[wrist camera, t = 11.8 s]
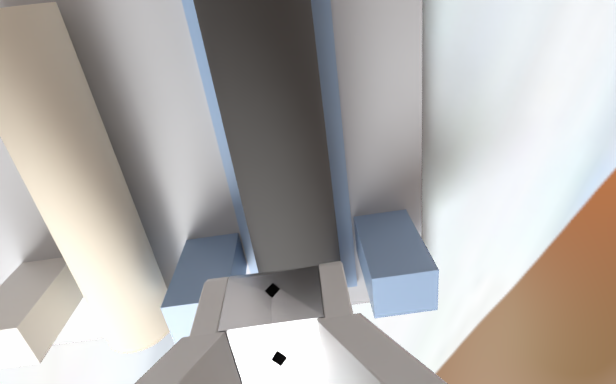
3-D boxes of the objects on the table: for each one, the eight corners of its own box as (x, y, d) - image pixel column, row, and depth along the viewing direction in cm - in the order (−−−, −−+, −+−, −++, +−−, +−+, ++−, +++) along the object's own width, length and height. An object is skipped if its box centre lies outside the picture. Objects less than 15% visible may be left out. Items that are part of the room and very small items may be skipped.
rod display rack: (-364, 1, 14) (-704, 10, 9) (413, -116, 14) (485, -172, 9) (-74, 349, 23) (-173, 450, 18) (415, 282, 22) (452, 366, 17)
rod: (-15, 13, 14) (-91, 21, 11) (74, 0, 14) (20, 4, 11) (122, 306, 21) (96, 357, 18) (183, 298, 21) (166, 348, 18)
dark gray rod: (193, -52, 13) (164, -63, 10) (300, -68, 13) (305, -84, 10) (274, 305, 21) (272, 363, 17) (342, 295, 21) (353, 352, 17)
